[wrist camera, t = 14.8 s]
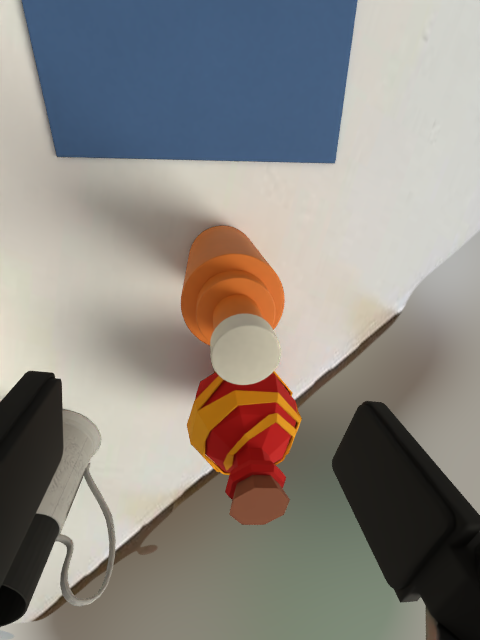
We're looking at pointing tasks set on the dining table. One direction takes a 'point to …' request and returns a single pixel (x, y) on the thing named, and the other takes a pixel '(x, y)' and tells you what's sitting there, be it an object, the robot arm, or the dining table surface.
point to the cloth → (193, 77)
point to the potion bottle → (246, 441)
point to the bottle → (233, 304)
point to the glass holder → (56, 523)
